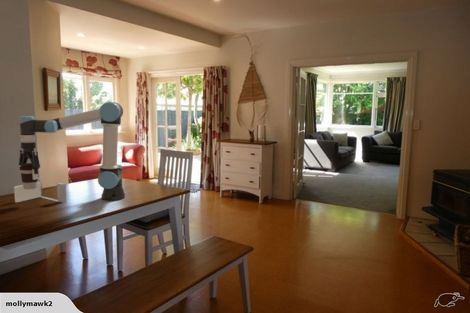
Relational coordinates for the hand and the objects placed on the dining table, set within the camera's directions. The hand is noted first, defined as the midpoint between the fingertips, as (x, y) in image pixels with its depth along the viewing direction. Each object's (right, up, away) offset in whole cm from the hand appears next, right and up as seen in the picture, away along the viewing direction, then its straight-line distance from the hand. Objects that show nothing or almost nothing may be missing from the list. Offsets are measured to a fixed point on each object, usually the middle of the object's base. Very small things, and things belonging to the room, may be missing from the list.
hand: (29, 178), depth 199 cm
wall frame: (+3, -15, +15) cm, 22 cm away
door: (-9, -14, +13) cm, 21 cm away
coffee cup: (0, -6, +1) cm, 6 cm away
